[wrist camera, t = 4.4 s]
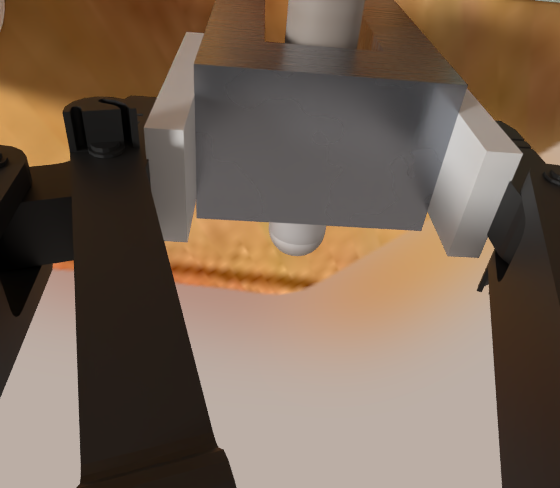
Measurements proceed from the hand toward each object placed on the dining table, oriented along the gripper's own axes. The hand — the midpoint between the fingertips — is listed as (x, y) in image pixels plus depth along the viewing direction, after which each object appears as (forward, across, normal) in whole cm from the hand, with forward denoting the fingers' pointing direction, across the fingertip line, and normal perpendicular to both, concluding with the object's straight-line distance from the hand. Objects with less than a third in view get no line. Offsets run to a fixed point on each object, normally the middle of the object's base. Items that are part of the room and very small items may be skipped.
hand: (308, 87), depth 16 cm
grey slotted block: (+5, 0, 0) cm, 5 cm away
